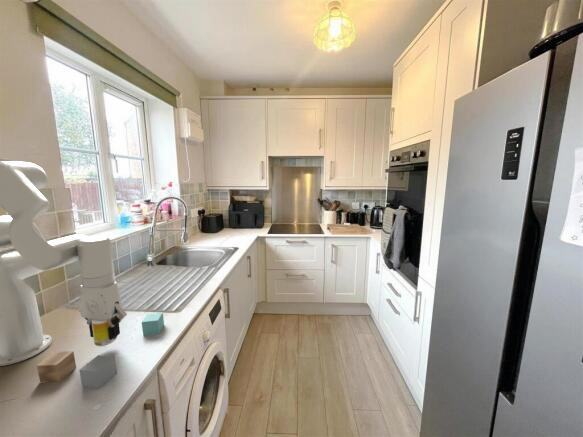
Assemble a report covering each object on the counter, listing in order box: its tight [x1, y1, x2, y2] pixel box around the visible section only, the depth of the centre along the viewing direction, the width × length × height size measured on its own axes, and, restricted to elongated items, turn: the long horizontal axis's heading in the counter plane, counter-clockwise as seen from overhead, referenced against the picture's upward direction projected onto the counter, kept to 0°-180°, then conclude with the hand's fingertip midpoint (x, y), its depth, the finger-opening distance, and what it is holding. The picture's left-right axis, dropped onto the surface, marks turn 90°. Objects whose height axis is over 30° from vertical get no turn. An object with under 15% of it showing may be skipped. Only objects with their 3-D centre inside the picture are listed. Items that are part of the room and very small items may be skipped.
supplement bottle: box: [92, 317, 118, 347], centre depth 72 cm, size 6×6×10 cm
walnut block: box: [36, 350, 77, 383], centre depth 65 cm, size 5×5×5 cm
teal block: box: [141, 312, 165, 337], centre depth 83 cm, size 5×5×5 cm
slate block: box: [79, 354, 117, 390], centre depth 62 cm, size 5×5×5 cm
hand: (105, 335), depth 73 cm, fingers closed on supplement bottle, 5 cm apart
